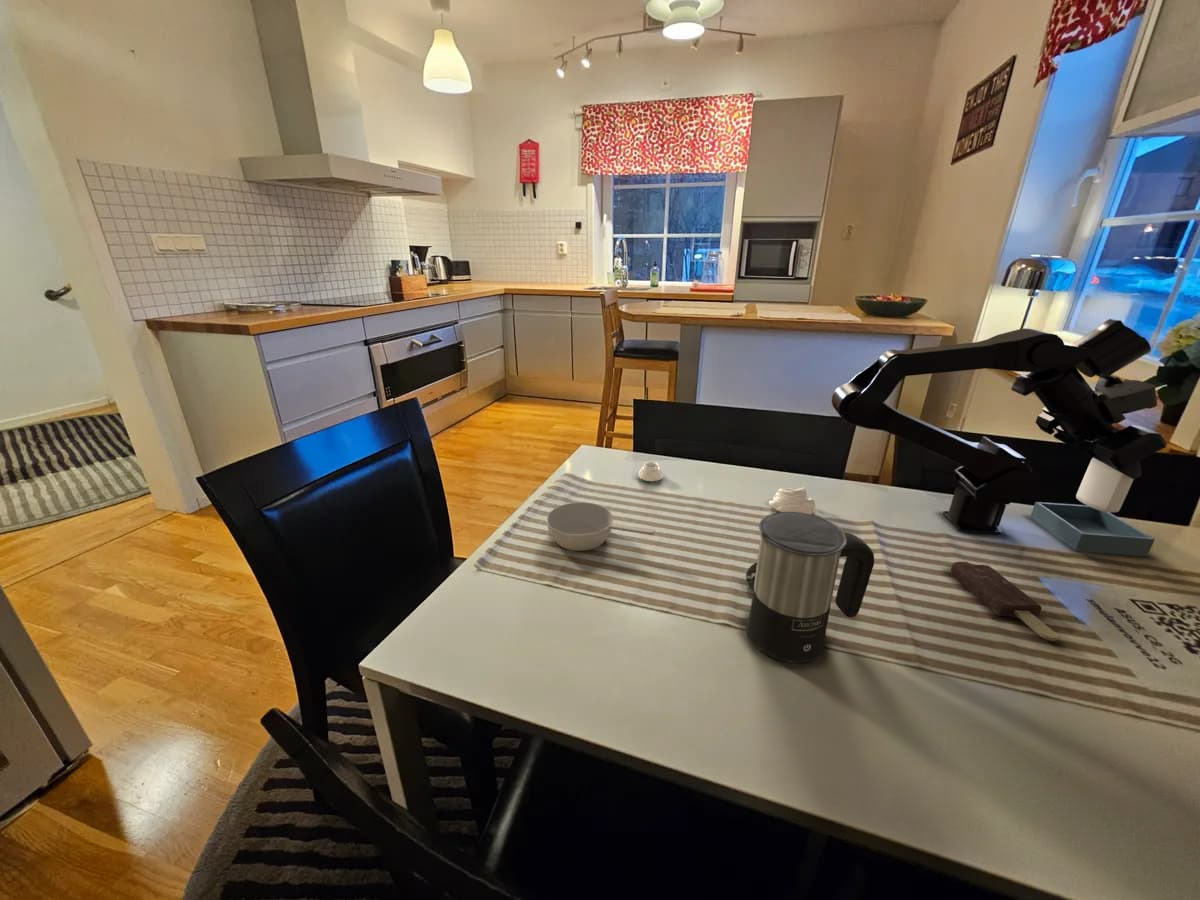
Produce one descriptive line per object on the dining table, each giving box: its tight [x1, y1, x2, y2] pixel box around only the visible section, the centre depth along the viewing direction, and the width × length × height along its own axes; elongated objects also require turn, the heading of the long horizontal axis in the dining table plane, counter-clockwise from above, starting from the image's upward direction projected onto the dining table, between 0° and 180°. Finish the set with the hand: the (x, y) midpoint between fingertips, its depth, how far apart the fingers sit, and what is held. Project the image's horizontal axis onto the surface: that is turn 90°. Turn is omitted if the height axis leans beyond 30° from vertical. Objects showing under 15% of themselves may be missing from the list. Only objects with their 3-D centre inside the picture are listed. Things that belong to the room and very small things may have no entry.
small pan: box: [546, 501, 656, 552], centre depth 79 cm, size 11×18×4 cm, turn 68°
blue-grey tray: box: [1029, 501, 1156, 557], centre depth 82 cm, size 10×11×3 cm
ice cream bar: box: [949, 561, 1058, 642], centre depth 65 cm, size 5×2×15 cm
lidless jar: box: [638, 461, 664, 482], centre depth 102 cm, size 5×3×5 cm
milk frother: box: [745, 511, 875, 664], centre depth 61 cm, size 14×16×15 cm
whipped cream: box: [768, 486, 817, 515], centre depth 89 cm, size 8×7×5 cm
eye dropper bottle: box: [1075, 457, 1135, 513], centre depth 78 cm, size 4×6×12 cm
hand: (1122, 469), depth 77 cm, fingers closed on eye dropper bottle, 5 cm apart
